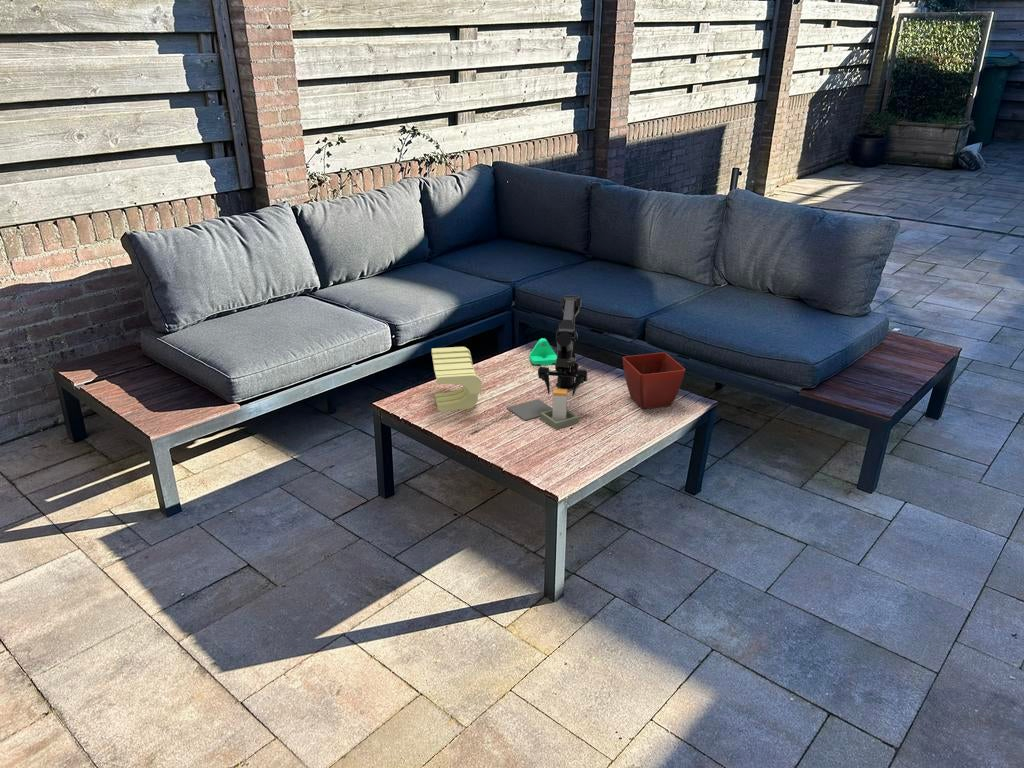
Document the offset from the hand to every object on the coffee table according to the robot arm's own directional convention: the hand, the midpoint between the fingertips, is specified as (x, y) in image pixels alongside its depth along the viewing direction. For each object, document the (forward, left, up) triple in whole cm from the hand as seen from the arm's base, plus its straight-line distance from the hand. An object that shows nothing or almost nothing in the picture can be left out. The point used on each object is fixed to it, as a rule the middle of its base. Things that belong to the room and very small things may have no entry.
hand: (560, 394), depth 307 cm
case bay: (+2, +2, -10) cm, 10 cm away
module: (+2, +2, -10) cm, 10 cm away
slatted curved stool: (+27, -33, -10) cm, 44 cm away
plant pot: (-40, +7, -10) cm, 42 cm away
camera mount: (-27, -50, -10) cm, 57 cm away
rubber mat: (+6, -11, -10) cm, 16 cm away
